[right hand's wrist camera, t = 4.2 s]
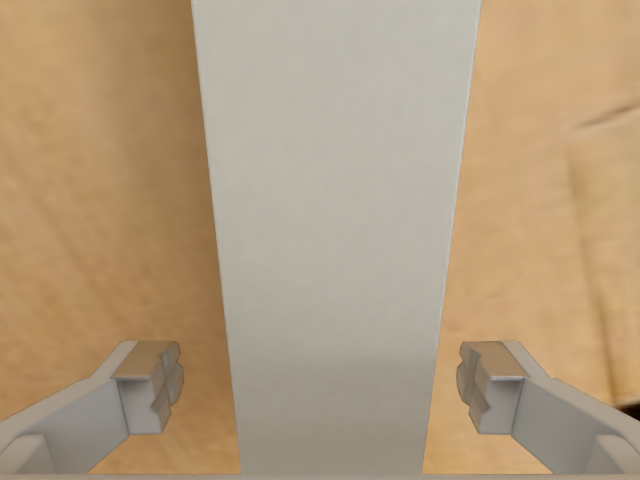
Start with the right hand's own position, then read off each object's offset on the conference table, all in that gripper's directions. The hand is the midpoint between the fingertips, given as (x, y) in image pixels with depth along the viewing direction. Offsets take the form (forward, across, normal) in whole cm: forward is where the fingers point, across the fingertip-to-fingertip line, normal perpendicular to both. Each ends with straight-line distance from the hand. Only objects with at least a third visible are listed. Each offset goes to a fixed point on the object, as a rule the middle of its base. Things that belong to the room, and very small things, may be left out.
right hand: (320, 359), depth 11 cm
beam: (+4, 0, -27) cm, 28 cm away
